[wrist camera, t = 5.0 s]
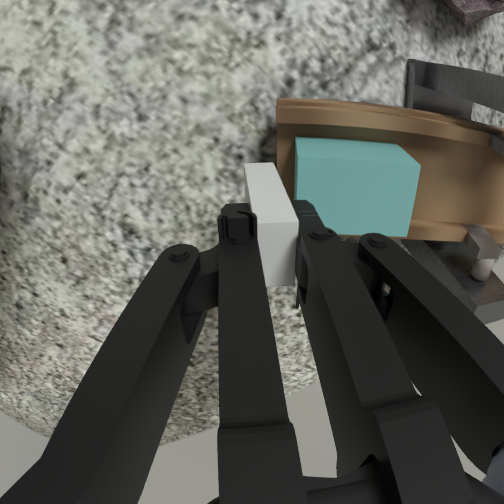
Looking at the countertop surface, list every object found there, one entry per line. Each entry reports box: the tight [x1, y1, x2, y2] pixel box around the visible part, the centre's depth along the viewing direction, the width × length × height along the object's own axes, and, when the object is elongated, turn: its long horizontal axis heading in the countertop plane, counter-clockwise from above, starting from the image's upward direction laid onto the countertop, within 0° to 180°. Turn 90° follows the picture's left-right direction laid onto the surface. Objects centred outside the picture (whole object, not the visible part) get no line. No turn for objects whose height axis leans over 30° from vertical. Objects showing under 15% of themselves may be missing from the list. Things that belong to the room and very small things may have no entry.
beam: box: [276, 98, 504, 281], centre depth 17 cm, size 28×10×6 cm, turn 92°
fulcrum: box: [392, 59, 504, 324], centre depth 17 cm, size 6×15×12 cm, turn 2°
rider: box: [294, 136, 421, 237], centre depth 17 cm, size 6×4×4 cm, turn 92°
